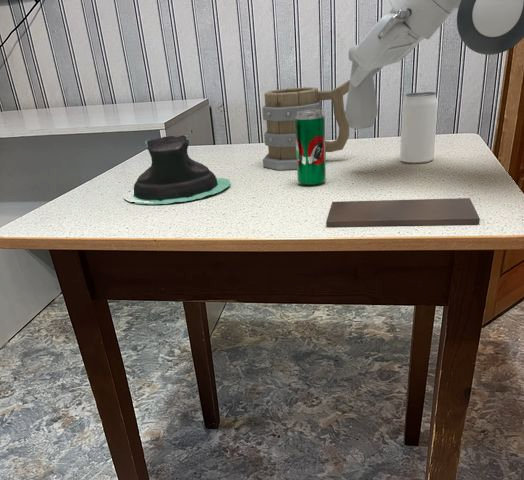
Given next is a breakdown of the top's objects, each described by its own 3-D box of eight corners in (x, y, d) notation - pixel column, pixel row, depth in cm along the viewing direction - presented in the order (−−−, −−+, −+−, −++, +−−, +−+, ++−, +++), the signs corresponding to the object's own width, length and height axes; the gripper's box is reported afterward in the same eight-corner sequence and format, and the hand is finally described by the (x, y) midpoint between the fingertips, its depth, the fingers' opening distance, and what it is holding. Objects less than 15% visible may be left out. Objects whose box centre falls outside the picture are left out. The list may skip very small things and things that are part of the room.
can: (404, 156, 110) (407, 92, 104) (436, 157, 107) (441, 90, 101) (396, 163, 105) (399, 96, 99) (430, 164, 102) (435, 95, 96)
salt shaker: (338, 128, 97) (336, 46, 91) (359, 123, 100) (359, 44, 94) (363, 130, 93) (363, 44, 87) (384, 124, 96) (385, 41, 90)
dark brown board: (469, 203, 79) (469, 197, 78) (479, 224, 70) (480, 218, 70) (332, 206, 83) (332, 201, 82) (326, 227, 74) (326, 221, 74)
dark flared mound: (113, 183, 106) (209, 170, 112) (137, 250, 97) (240, 232, 103) (105, 113, 93) (214, 103, 100) (132, 183, 85) (249, 167, 91)
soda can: (329, 180, 98) (328, 108, 92) (320, 187, 94) (318, 112, 88) (303, 179, 100) (300, 109, 94) (293, 186, 96) (289, 113, 90)
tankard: (260, 171, 109) (253, 89, 101) (270, 158, 120) (265, 84, 112) (359, 166, 105) (360, 81, 97) (361, 154, 116) (362, 76, 108)
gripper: (414, 26, 77) (350, 104, 86) (443, 23, 92) (386, 89, 101) (384, -7, 76) (323, 75, 86) (418, -5, 92) (363, 64, 101)
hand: (357, 82), depth 93 cm, fingers closed on salt shaker, 3 cm apart
